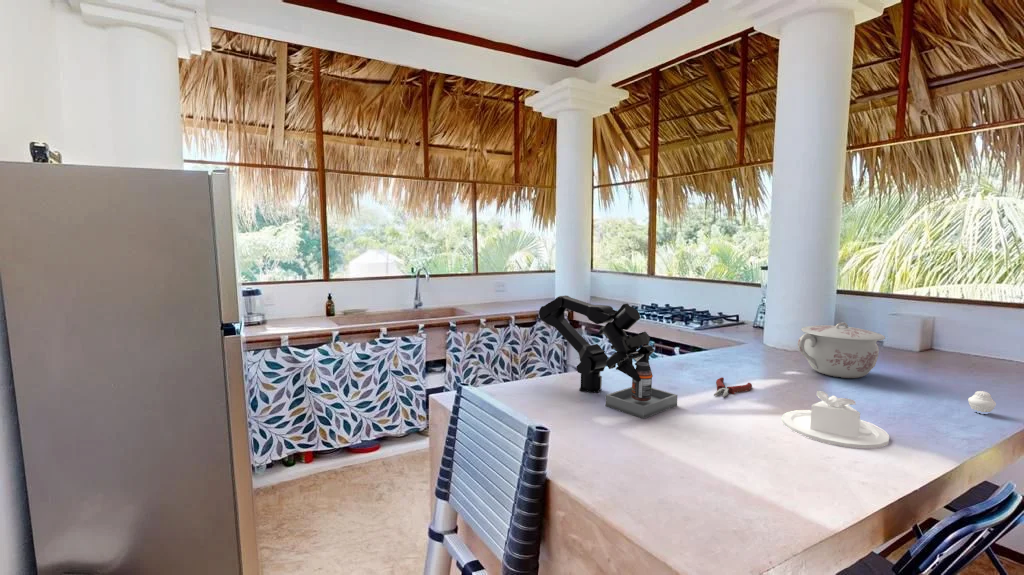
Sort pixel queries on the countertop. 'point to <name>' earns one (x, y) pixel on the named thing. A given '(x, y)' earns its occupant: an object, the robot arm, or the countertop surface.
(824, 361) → the chamber pot
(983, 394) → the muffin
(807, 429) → the dish
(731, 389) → the pliers
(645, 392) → the supplement bottle
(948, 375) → the countertop surface
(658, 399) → the tray
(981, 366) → the countertop surface
